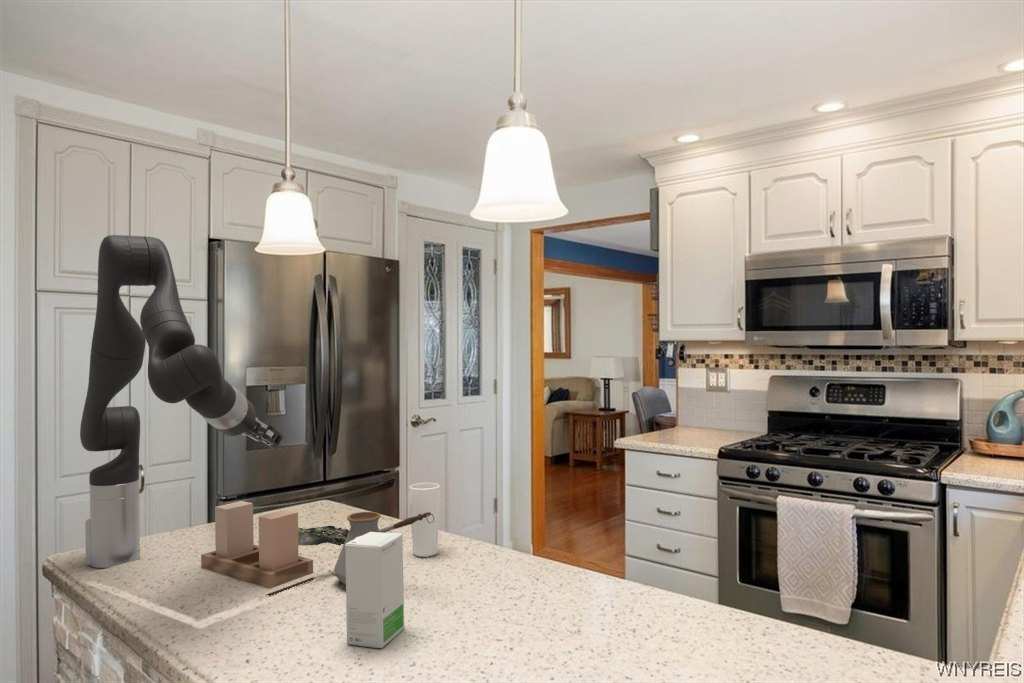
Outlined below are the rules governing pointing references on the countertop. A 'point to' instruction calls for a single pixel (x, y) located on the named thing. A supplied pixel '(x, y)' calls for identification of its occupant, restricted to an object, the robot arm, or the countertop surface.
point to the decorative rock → (322, 535)
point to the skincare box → (374, 589)
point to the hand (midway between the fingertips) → (258, 436)
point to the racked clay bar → (234, 529)
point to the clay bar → (278, 540)
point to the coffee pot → (366, 524)
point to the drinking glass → (423, 532)
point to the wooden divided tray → (257, 569)
